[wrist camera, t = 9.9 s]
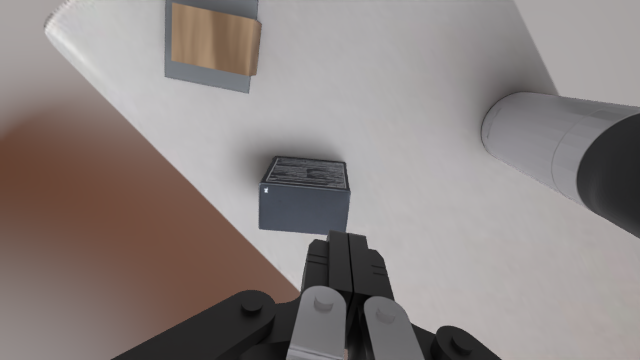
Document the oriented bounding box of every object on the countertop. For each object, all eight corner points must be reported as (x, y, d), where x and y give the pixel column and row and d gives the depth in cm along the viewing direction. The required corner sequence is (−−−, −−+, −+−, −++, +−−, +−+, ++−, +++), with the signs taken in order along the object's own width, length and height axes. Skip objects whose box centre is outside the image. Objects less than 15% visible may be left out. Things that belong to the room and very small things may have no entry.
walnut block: (253, 19, 34) (172, 2, 33) (248, 75, 36) (171, 60, 35) (261, 24, 37) (188, 8, 37) (256, 75, 39) (186, 60, 39)
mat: (258, 0, 37) (257, -1, 36) (248, 93, 41) (247, 93, 40) (167, -19, 36) (165, -20, 36) (166, 76, 40) (164, 76, 40)
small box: (272, 196, 46) (256, 232, 36) (273, 154, 44) (256, 180, 34) (342, 202, 46) (345, 240, 36) (347, 161, 44) (351, 189, 34)
